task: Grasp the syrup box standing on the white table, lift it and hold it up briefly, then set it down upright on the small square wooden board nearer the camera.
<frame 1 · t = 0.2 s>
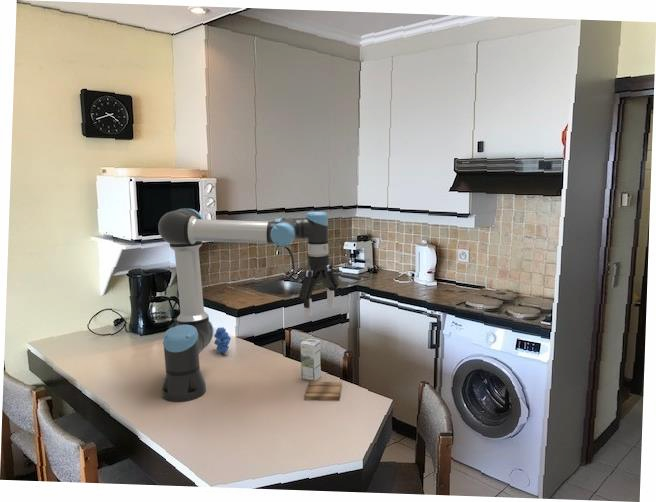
hand: (320, 311, 192), 26 cm above the table, fingers open, 13 cm apart
syrup box: (311, 378, 198), on the table
grapes: (224, 353, 226), on the table
square wooden board: (323, 392, 185), on the table
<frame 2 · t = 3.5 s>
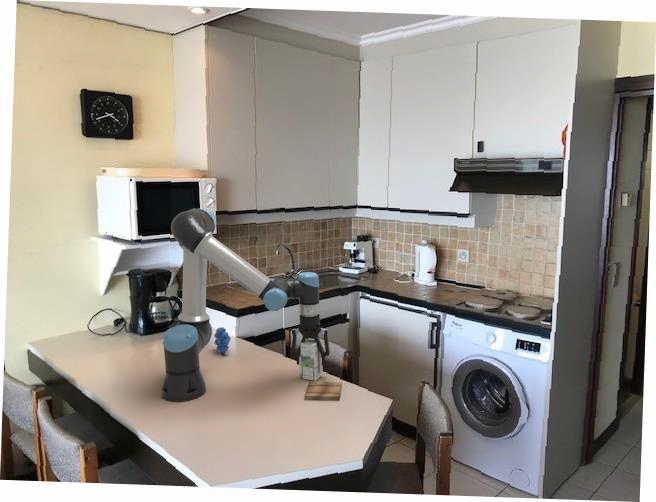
hand: (311, 372, 198), 2 cm above the table, fingers closed on syrup box, 7 cm apart
syrup box: (311, 378, 198), on the table, touching gripper
everything else where it was.
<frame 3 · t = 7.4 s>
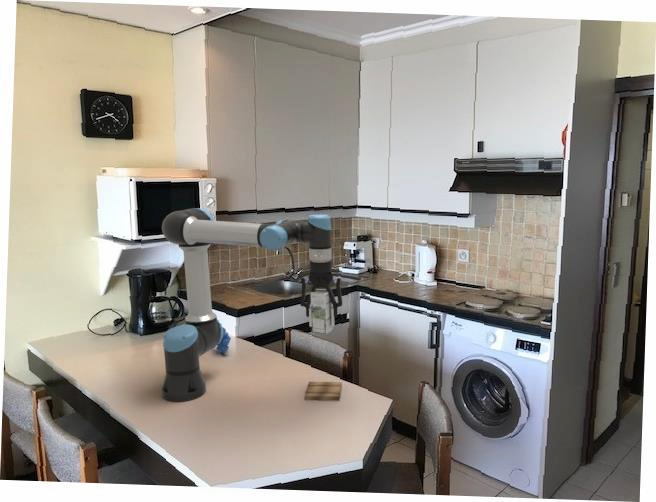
hand: (322, 325, 181), 25 cm above the table, fingers closed on syrup box, 7 cm apart
syrup box: (322, 331, 181), point 22 cm above the table, touching gripper
everything else where it was.
when the fingers open (5 cm above the table, at t = 11.7 s): syrup box drops 1 cm, resting on square wooden board.
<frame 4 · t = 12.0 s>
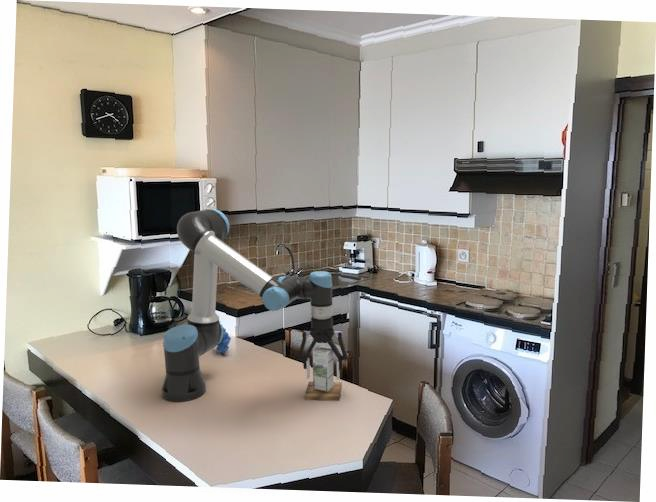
hand: (323, 377, 184), 6 cm above the table, fingers open, 10 cm apart
syrup box: (323, 388, 184), point 2 cm above the table, touching square wooden board
everything else where it was.
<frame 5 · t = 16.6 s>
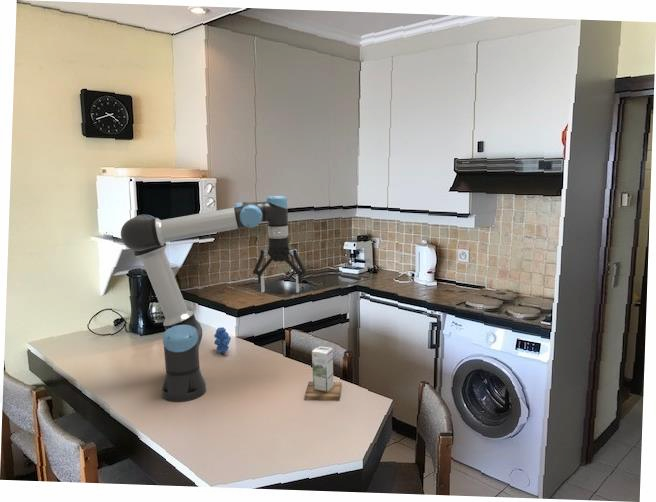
hand: (280, 291, 201), 32 cm above the table, fingers open, 13 cm apart
nothing on the table moved.
at the end: syrup box inside the target area on the square wooden board (0.1 cm from its centre), point 1.5 cm above the square wooden board's base; syrup box tilted 0°; the gripper is holding nothing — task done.
